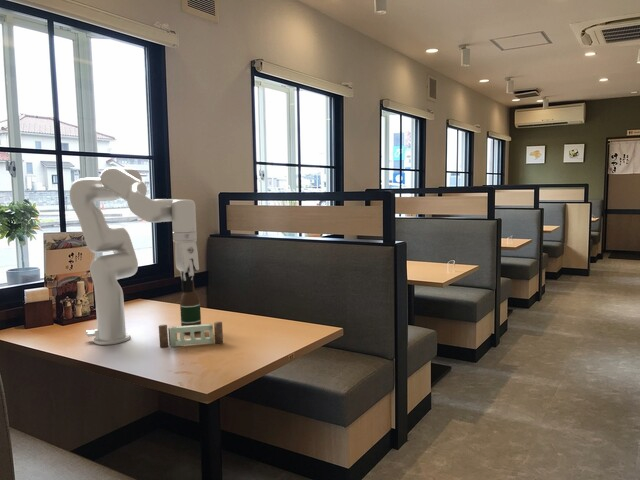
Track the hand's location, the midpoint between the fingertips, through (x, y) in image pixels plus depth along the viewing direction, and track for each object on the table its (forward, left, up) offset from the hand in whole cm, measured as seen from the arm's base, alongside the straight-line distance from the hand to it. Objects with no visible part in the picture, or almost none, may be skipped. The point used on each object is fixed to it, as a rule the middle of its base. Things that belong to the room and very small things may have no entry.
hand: (187, 291), depth 167 cm
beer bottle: (-3, +25, -21) cm, 33 cm away
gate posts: (-1, +9, -20) cm, 22 cm away
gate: (-1, +7, -20) cm, 21 cm away
